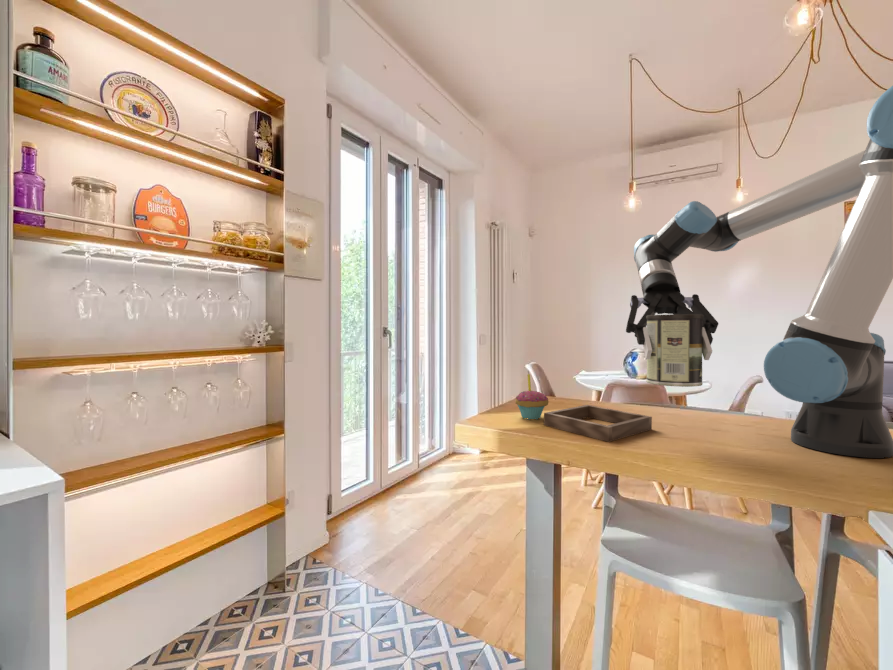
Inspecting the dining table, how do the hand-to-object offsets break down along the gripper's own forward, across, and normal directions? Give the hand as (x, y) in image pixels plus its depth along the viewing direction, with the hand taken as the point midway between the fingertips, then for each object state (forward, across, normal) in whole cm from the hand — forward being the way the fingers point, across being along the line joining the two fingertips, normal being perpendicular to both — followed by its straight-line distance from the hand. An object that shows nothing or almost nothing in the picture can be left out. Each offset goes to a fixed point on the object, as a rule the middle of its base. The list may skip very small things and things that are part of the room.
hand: (678, 355), depth 83 cm
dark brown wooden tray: (+4, +14, -22) cm, 27 cm away
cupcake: (-1, +29, -27) cm, 40 cm away
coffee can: (+2, 0, -6) cm, 7 cm away
